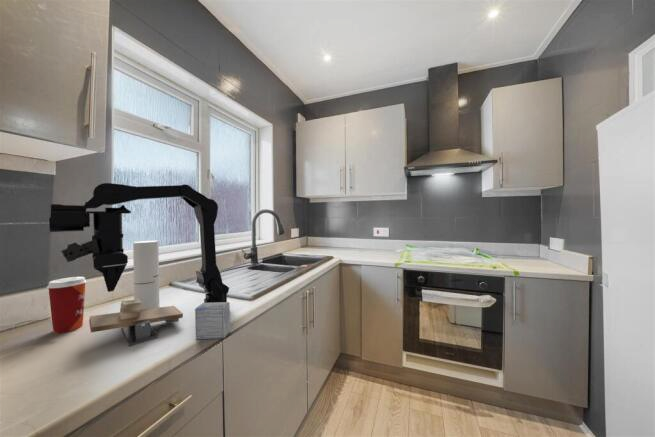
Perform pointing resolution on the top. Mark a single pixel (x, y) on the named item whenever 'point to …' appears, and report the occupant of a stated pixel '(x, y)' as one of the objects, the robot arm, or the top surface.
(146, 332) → the beam stand
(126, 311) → the maple block
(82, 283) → the coffee cup
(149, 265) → the cylindrical container
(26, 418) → the top surface
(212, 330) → the medicine box
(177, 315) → the beam
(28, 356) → the top surface
